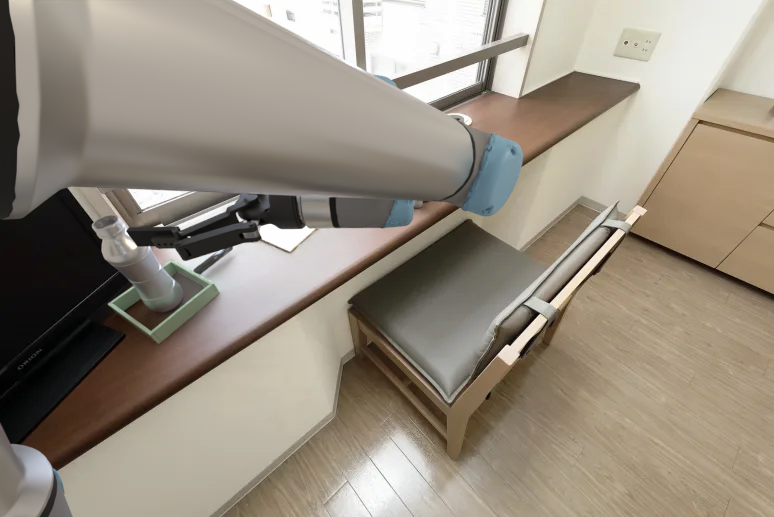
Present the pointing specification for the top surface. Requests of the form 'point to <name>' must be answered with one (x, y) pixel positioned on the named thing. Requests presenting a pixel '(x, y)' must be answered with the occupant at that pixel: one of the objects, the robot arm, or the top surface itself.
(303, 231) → the placemat
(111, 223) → the plastic bottle
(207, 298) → the pan
